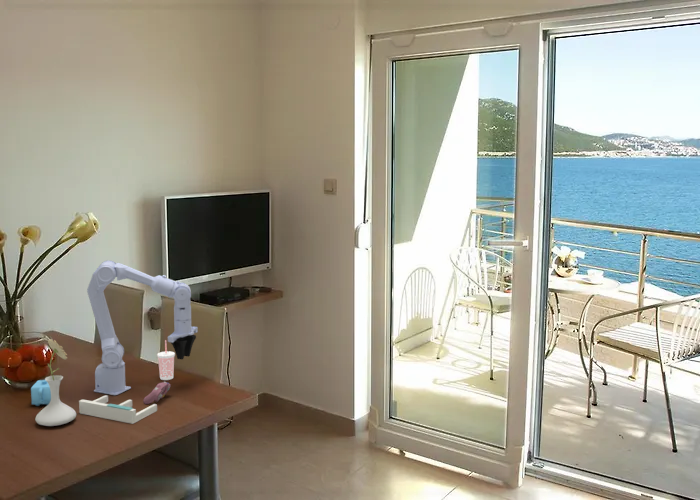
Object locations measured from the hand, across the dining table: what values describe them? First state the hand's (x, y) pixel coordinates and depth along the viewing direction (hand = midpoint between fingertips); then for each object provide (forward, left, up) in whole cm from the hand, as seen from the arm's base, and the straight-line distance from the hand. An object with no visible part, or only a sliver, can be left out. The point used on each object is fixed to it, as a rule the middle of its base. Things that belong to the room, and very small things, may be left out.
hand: (183, 357), depth 239 cm
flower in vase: (-17, -41, -11) cm, 46 cm away
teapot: (-32, -30, -11) cm, 45 cm away
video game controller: (0, -14, -11) cm, 18 cm away
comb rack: (-5, -27, -10) cm, 29 cm away
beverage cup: (-11, +5, -11) cm, 16 cm away
